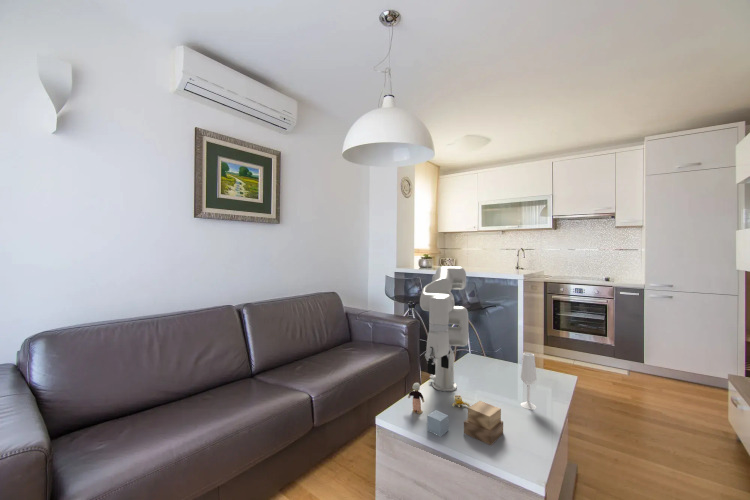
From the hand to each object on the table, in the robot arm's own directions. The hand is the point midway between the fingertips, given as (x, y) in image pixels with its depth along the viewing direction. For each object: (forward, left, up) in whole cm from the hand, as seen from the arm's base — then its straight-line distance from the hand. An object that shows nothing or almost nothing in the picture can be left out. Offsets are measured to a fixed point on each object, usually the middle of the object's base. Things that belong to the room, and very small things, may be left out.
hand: (438, 370), depth 127 cm
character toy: (-5, +24, -25) cm, 34 cm away
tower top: (+14, +12, -19) cm, 26 cm away
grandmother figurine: (-15, +6, -24) cm, 29 cm away
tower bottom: (+14, +11, -24) cm, 30 cm away
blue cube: (0, 0, -24) cm, 24 cm away
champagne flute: (+19, +47, -24) cm, 56 cm away
